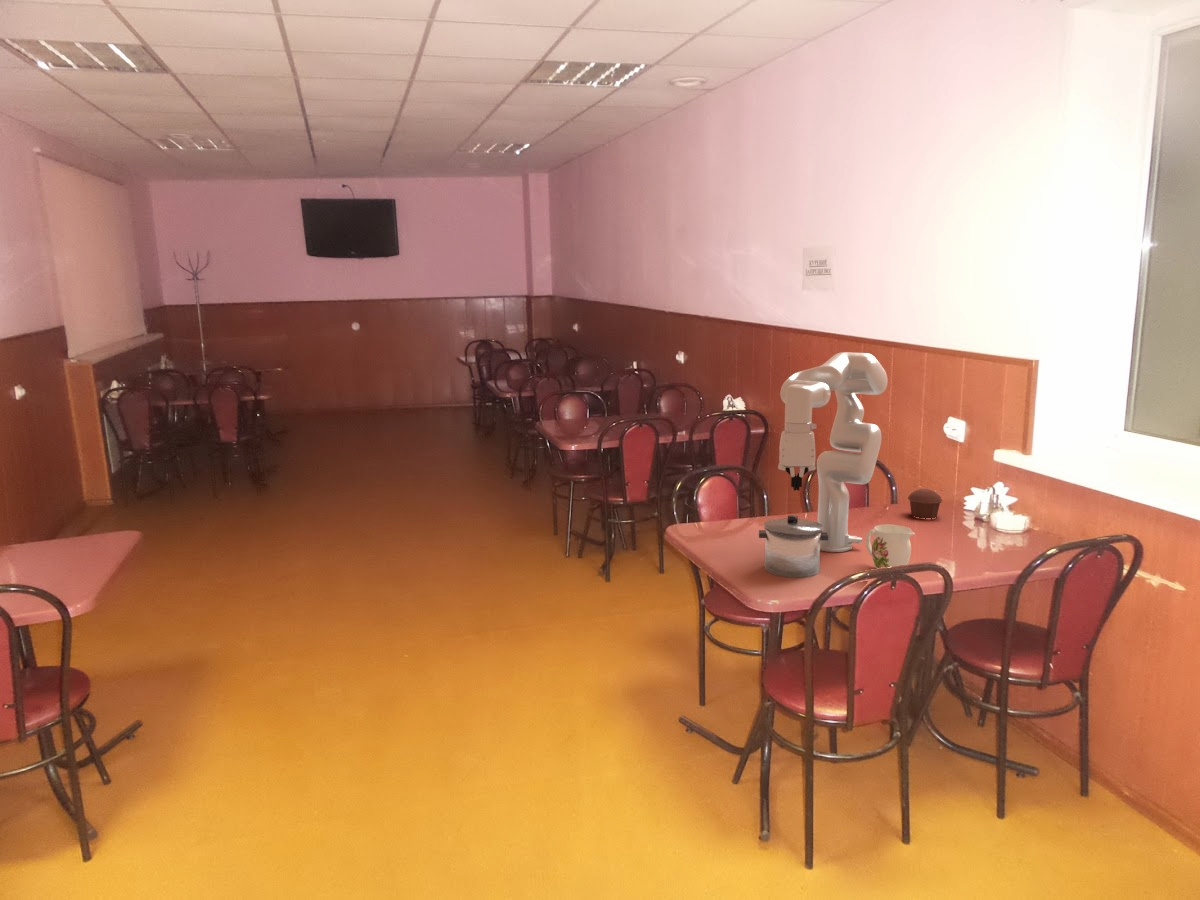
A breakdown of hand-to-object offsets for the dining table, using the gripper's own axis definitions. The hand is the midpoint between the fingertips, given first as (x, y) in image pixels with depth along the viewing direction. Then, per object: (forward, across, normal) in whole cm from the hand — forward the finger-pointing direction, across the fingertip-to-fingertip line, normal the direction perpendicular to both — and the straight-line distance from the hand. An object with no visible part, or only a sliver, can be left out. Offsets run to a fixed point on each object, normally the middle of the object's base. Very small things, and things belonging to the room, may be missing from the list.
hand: (796, 489), depth 252 cm
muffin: (+28, -50, -68) cm, 89 cm away
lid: (+13, 0, -2) cm, 13 cm away
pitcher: (+26, -27, -4) cm, 38 cm away
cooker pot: (+25, +1, -2) cm, 25 cm away
